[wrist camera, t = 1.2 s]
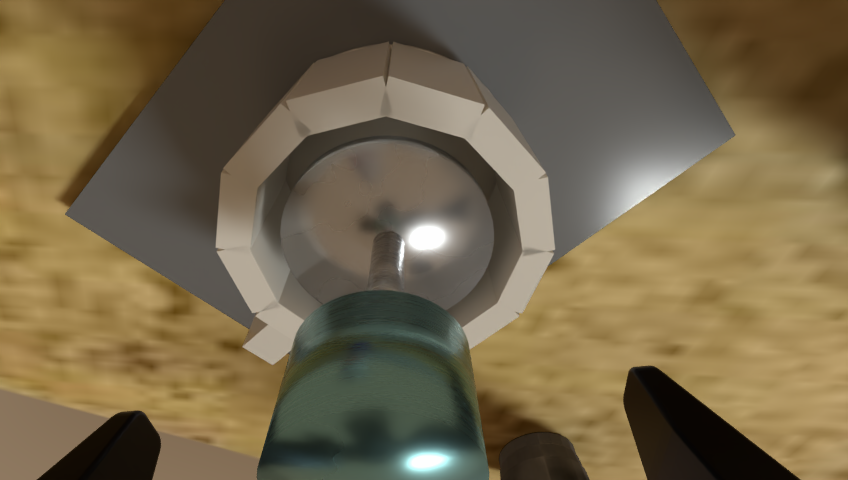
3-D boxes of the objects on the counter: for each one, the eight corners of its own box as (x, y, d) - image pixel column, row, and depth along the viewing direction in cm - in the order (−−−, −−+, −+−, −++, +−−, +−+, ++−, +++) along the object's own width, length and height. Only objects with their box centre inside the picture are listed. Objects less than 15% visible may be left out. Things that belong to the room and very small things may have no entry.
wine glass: (387, 86, 11) (364, 262, 5) (531, 234, 14) (639, 479, 7) (242, 232, 13) (96, 487, 7) (390, 338, 16) (380, 599, 9)
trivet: (464, -313, 11) (466, -323, 10) (727, 130, 17) (735, 135, 17) (72, 207, 18) (64, 214, 17) (360, 389, 24) (359, 397, 24)
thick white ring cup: (391, -25, 14) (384, -13, 9) (563, 177, 17) (615, 251, 13) (191, 199, 17) (122, 281, 13) (369, 327, 21) (360, 422, 17)
